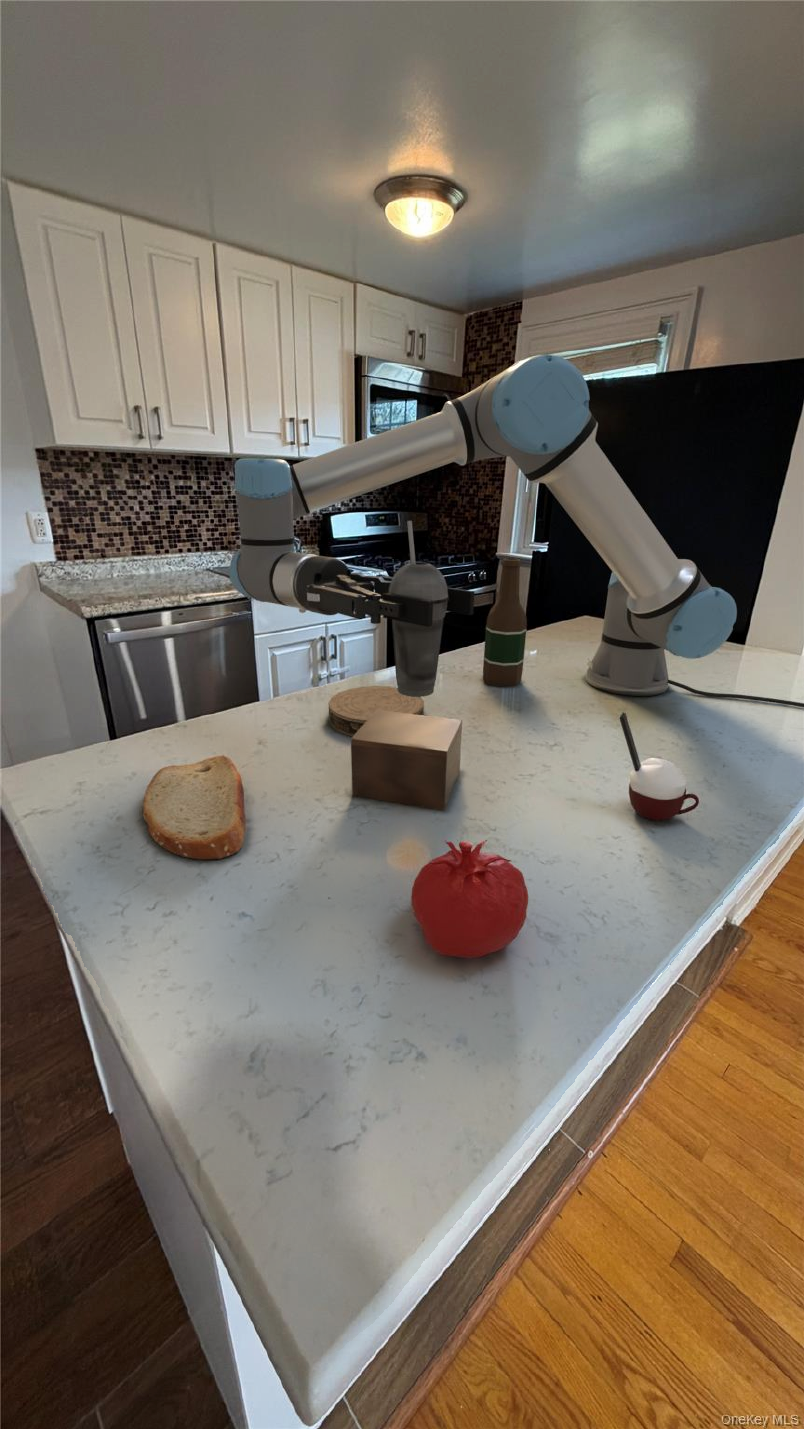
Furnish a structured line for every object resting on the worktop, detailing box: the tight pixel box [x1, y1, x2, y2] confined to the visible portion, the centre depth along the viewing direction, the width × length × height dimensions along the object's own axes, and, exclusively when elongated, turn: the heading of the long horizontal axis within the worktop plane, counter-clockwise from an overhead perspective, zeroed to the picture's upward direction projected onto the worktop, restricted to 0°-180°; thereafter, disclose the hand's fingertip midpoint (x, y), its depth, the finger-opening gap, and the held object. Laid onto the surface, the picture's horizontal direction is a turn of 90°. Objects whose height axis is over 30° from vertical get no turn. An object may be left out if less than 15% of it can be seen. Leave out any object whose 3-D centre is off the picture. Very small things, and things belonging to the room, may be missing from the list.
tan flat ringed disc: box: [327, 685, 425, 737], centre depth 95 cm, size 16×16×3 cm
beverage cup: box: [389, 520, 449, 698], centre depth 67 cm, size 7×7×20 cm
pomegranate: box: [410, 839, 529, 958], centre depth 49 cm, size 10×10×9 cm
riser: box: [350, 710, 463, 811], centre depth 73 cm, size 12×10×8 cm
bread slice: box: [142, 754, 246, 860], centre depth 68 cm, size 18×18×4 cm
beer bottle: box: [482, 557, 528, 688], centre depth 110 cm, size 8×8×24 cm
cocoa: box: [618, 711, 700, 822], centre depth 67 cm, size 10×6×12 cm, turn 38°
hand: (452, 608), depth 63 cm, fingers closed on beverage cup, 7 cm apart
